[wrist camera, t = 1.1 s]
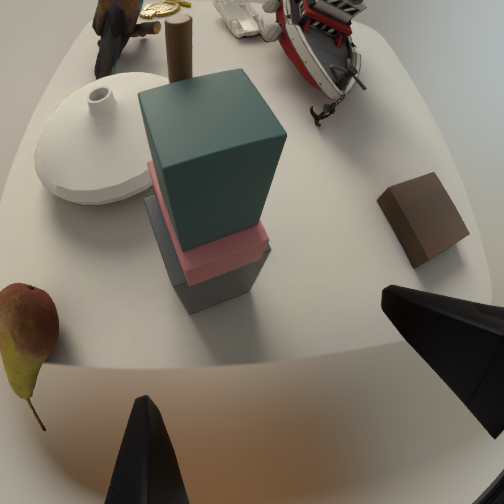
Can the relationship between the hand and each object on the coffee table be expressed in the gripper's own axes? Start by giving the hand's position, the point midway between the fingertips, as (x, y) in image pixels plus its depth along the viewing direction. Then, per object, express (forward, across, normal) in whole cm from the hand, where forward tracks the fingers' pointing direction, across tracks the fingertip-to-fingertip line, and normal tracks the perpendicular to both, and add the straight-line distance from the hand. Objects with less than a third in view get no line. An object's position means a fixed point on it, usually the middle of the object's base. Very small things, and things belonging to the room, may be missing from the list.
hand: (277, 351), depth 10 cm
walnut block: (+12, -21, +6) cm, 25 cm away
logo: (+47, -11, -29) cm, 56 cm away
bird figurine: (+38, 0, -20) cm, 42 cm away
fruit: (+13, +13, 0) cm, 18 cm away
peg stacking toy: (+7, 0, -2) cm, 8 cm away
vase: (+24, +4, -6) cm, 26 cm away
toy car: (+36, -16, -23) cm, 46 cm away
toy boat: (+30, -22, -12) cm, 39 cm away
